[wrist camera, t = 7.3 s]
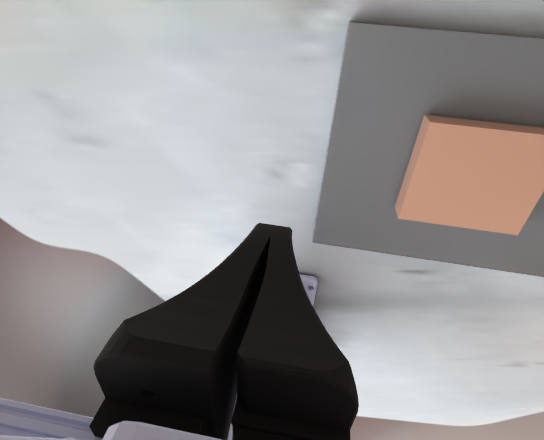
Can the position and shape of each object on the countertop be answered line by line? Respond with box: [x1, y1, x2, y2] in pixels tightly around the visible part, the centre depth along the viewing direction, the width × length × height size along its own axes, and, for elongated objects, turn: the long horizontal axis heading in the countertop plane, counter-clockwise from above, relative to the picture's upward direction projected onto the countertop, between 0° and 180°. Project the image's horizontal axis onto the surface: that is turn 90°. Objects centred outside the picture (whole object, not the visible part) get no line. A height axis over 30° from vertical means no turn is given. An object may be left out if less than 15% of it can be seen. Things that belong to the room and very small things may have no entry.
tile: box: [395, 115, 544, 235], centre depth 19 cm, size 6×2×7 cm
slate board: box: [313, 22, 544, 277], centre depth 20 cm, size 14×18×1 cm
